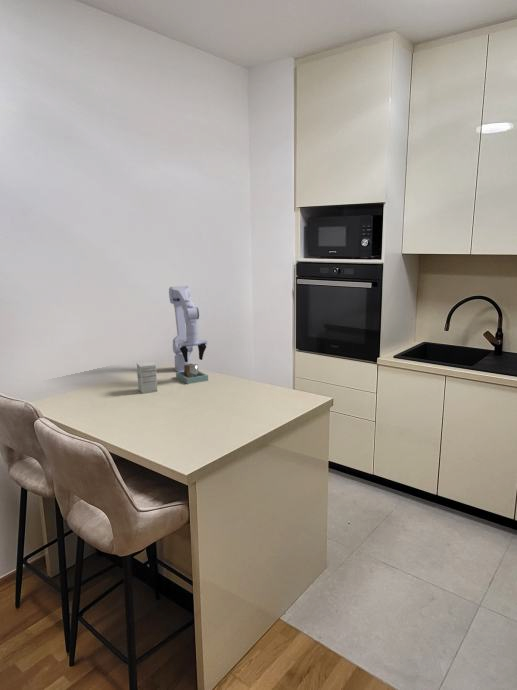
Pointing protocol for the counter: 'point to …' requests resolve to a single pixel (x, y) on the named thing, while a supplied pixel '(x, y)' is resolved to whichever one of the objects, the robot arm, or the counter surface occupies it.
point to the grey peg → (193, 370)
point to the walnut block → (187, 370)
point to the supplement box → (147, 377)
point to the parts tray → (193, 379)
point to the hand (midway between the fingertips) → (193, 360)
